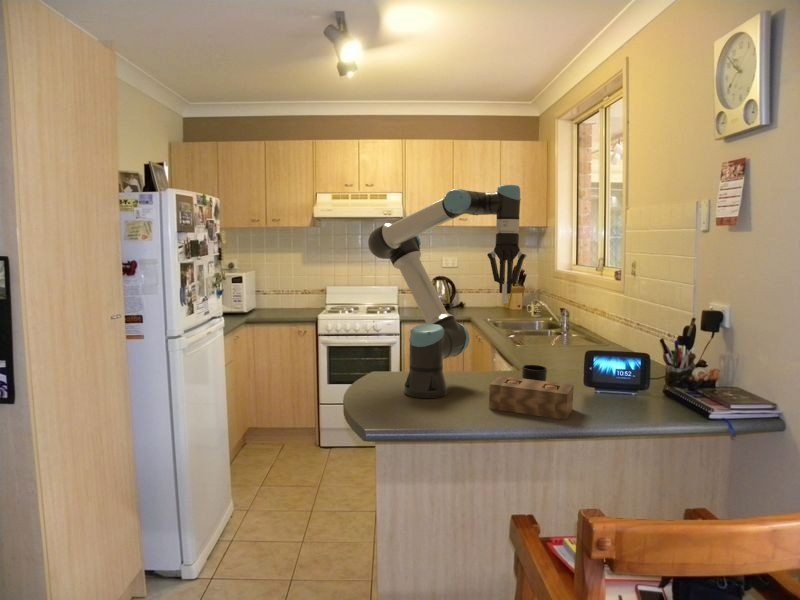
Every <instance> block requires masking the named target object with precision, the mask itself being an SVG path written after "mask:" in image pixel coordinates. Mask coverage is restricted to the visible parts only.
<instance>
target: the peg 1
mask: <svg viewBox="0 0 800 600" xmlns="http://www.w3.org/2000/svg"><path fill="white" fill-rule="evenodd" d="M508 384H516V385H519V382H518V381H508Z"/></svg>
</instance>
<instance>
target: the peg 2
mask: <svg viewBox="0 0 800 600" xmlns="http://www.w3.org/2000/svg"><path fill="white" fill-rule="evenodd" d="M545 388H547V389H555V390H557V387H556V386H553V385H546V386H545Z"/></svg>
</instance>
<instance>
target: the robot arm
mask: <svg viewBox="0 0 800 600" xmlns="http://www.w3.org/2000/svg"><path fill="white" fill-rule="evenodd" d="M521 200H522V198H521V188H520V186H519V185H515V184H500V185H498V186H497V190H496V191H492V192H490V191H488V192H482V191H475V190H466V189H462V188H456V189H455V188H454V189H451V190H449V191H448V192H447V193H446V194H445V196H444V197H443V198H441V199H439V200H437V201H435V202H433V203H431V204H430V205H427V206H425V207H423V208H421V209H419V210H417V211H415V212H413V213H411V214H409V215H406V216H405V217H403V218H401V219H399V220H397V221H395V222H393V223H390V222H388V223H384V224H383V225H381V226H379V227H376V228H375V229H373V231H372V232H370V233H369V237H368V239H367V240H368V241H367V244H368V249H369V251H370V252H371V254H372V255H373V256H375V257H376V258H378V259H383V260H385V259H386V260H388V259H389V260H390V262H391V264H392V266H393V268H395V269H398V270H399V272H400V273H401V275H402V277H403V279H404V281H405V284H406V286H407V287H408V289H409V291H410V293H411V294H412V297H413V299H414V302H415V303H416V304H417V307H418V308H419V311H420V312H421V315H422V317H423V319H424V321H425V323H426V324H419V325H416V326H414V327H412V329H410V333H409V341H408V342H409V365H408V366H409V369H408V374H407V377H406V380H405V382H404V385H403V392H404V394H405V395H406V396H409V397H412V398H418V399H437V398H442V397H445V396H446V395H448V384H447V381H446V379H445V378H446V377H445V375H444V360H445V359H446V360H447V359H448V358H452V357H453V358H454V357H457V356H459V355H461V354H463V353H464V352H465V351H466V350H467V348H468V347H469V343H470V334H469V331H468V329H467V328H466V326H465V325H463V324H462V323H459V322H457V319H456V318H455V316H454V315H453V314H450V313H448V311H447V310H446V307H445V306H444V304H443V301H442V300H441V298H440V296H439V293H438V292H437V290H436V288H435V286H434V285H433V282H432V281H431V279H430V276H429V275H428V273H427V271H426V268H425V267H424V265H423V262H422V261H421V256H422V253H421V245H422V244H421V240H420V237H419V235H422V234H423V233H427V232H428V231H430V230H432V229H434V228H436V227H438V226H441V225H443V224H445V223H447V222H449V221H451V220H453V219H456V218H458V217H460V216H462V215H466V214H467V215H470V216H486V215H488V216H489V215H493V216H495V215H496V221H495V224H496V225H495V226H496V227H495V231H496V232H497V233H495V246H494V249H493V250H492V251H491V252H488V253H487V258H488V259H489V261H490V267H491V272H492V275H493V281H494V282H496V283H498V284H499V287H498V289H499V290H498V291H499V293H500V294H501V304H509V294H511V293H512V287H513V286H512V284H514V283H517V282H518V280H519V276H520V274H521V270H522V266H523V263H524V260H525V259H526V258H527V254H526V253H523V252H522V251H521V249H520V247H519V245H520V234H519V233H518V232H519V231H520V210H521ZM496 257H497V258H498V259H499V269H498V263H497V259H496ZM516 257H517V258H518V259H517V262H516V265H515V270H513V269H514V260H515V258H516ZM506 264H507V268H506ZM506 269H507V271H506ZM513 271H514V272H513Z"/></svg>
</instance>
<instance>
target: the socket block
mask: <svg viewBox="0 0 800 600" xmlns="http://www.w3.org/2000/svg"><path fill="white" fill-rule="evenodd" d="M508 381H518V382H519V385H516V384H508ZM546 385H553V386H556V387H557V390H555V389H547V388H545V386H546ZM574 386H575V385H574V384H570V383H561V382H554V381H547V380H546V381H539V380H531V379H523V378H519V377H513V376H505V375H499V376H498V377H496V378H495V379H494V380H493V381H492V382H491V383H489V403H488V409H491V410H498V411H503V412H504V411H505V412H509V413H516V414H517V413H518V414H524V415H532V416H537V417H543V418H550V419H557V420H564V421H567V419H568V418H569V416H570V414H571V413H572V411H573V409H574V408H573V407H574V406H573V405H574V403H573V402H574V390H575V389H574Z"/></svg>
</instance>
